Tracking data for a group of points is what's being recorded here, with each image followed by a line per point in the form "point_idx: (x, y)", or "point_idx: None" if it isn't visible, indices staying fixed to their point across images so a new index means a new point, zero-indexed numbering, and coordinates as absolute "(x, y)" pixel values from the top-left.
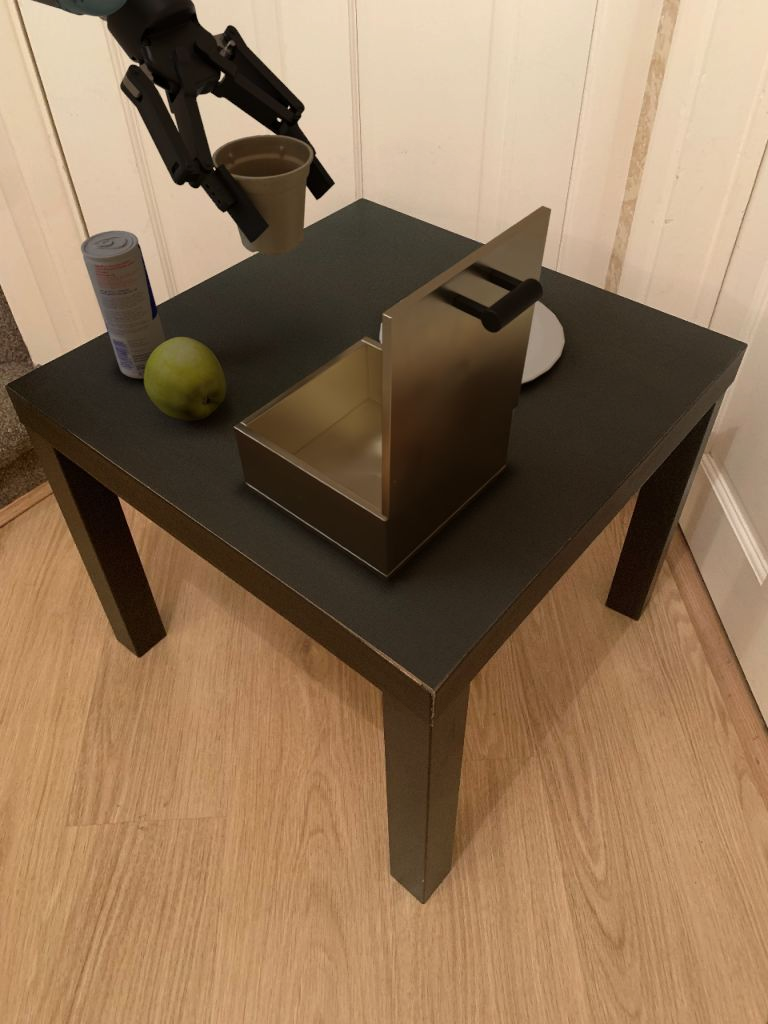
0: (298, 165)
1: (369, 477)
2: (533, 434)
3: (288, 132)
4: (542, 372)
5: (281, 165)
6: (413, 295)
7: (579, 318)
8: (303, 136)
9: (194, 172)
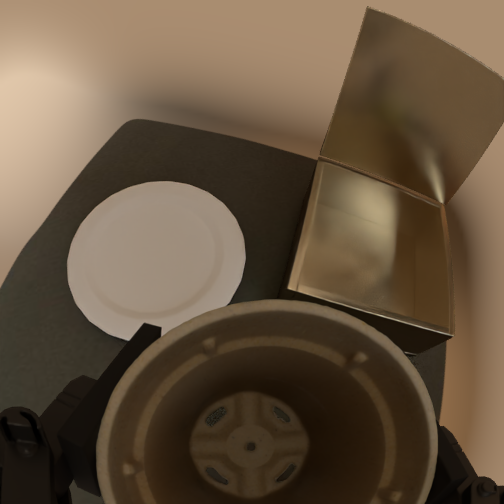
0: (158, 406)
1: (367, 272)
2: (258, 190)
3: (90, 450)
4: (196, 187)
5: (151, 464)
6: (502, 77)
7: (101, 189)
8: (56, 410)
9: (502, 487)
